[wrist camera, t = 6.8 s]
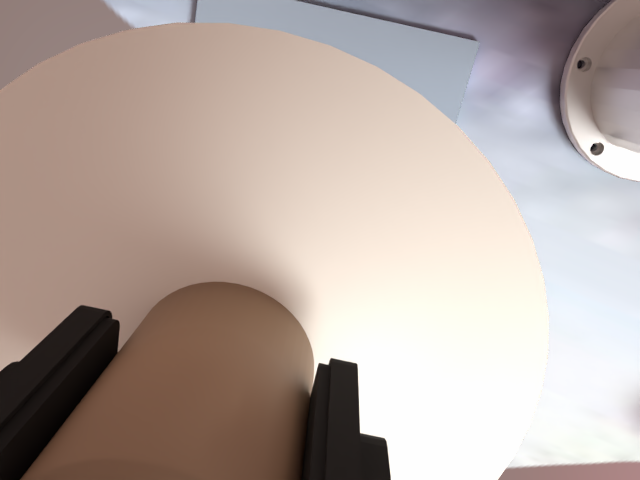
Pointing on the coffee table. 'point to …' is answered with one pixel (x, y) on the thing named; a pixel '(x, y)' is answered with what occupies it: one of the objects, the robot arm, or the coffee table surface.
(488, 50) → the coffee table surface
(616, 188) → the coffee table surface
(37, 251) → the lid
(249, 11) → the mat
